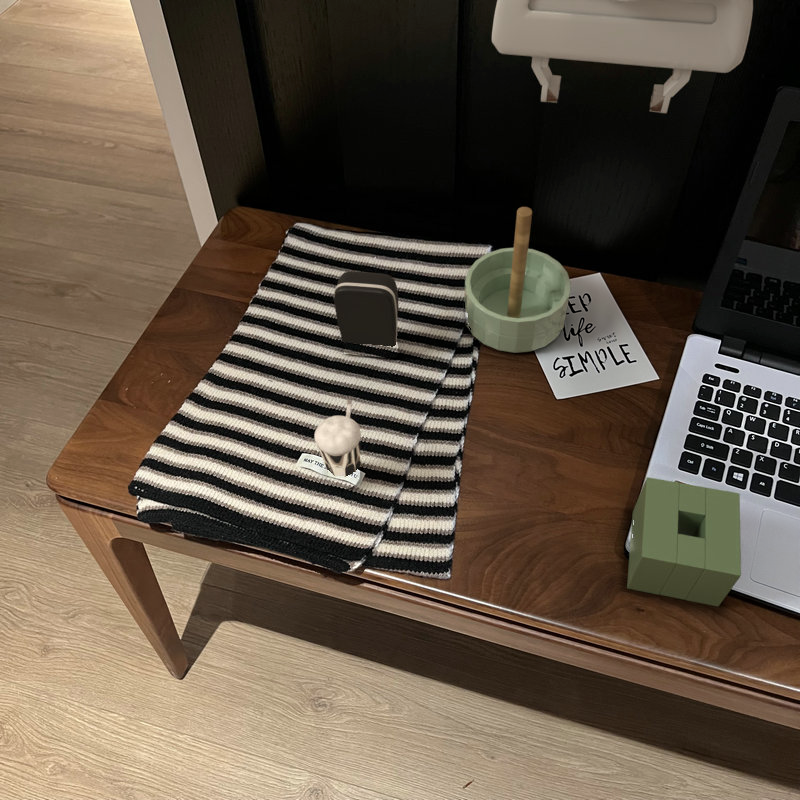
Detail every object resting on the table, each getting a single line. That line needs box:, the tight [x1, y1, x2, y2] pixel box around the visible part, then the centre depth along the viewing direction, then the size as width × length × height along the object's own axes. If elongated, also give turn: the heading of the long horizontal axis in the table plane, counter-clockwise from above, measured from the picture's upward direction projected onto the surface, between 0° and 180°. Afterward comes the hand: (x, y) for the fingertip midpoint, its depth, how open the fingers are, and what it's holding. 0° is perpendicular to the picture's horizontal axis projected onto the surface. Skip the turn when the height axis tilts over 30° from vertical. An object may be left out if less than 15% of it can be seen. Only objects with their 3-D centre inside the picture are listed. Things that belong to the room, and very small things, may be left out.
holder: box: [626, 476, 742, 607], centre depth 73 cm, size 8×8×7 cm
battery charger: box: [333, 270, 399, 347], centre depth 90 cm, size 7×4×11 cm, turn 81°
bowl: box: [463, 247, 572, 354], centre depth 93 cm, size 12×12×6 cm
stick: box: [507, 206, 533, 318], centre depth 89 cm, size 2×2×16 cm
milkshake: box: [314, 399, 362, 477], centre depth 79 cm, size 5×5×10 cm
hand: (603, 104), depth 69 cm, fingers open, 8 cm apart
